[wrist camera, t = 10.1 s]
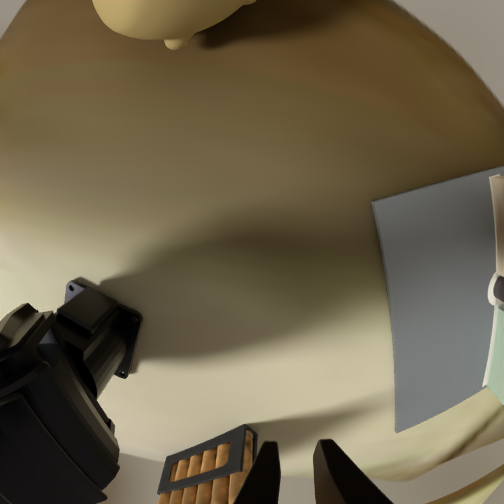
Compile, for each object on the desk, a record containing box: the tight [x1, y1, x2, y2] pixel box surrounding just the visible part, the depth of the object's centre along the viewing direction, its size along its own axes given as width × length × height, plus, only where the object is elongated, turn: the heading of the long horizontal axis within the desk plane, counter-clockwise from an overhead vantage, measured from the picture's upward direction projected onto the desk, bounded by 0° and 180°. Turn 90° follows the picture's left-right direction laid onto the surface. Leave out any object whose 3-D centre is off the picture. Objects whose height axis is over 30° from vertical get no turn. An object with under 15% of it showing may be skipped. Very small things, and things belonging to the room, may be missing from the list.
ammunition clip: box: [157, 424, 258, 504], centre depth 17 cm, size 11×2×12 cm, turn 129°
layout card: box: [371, 166, 504, 433], centre depth 19 cm, size 22×14×1 cm, turn 17°
